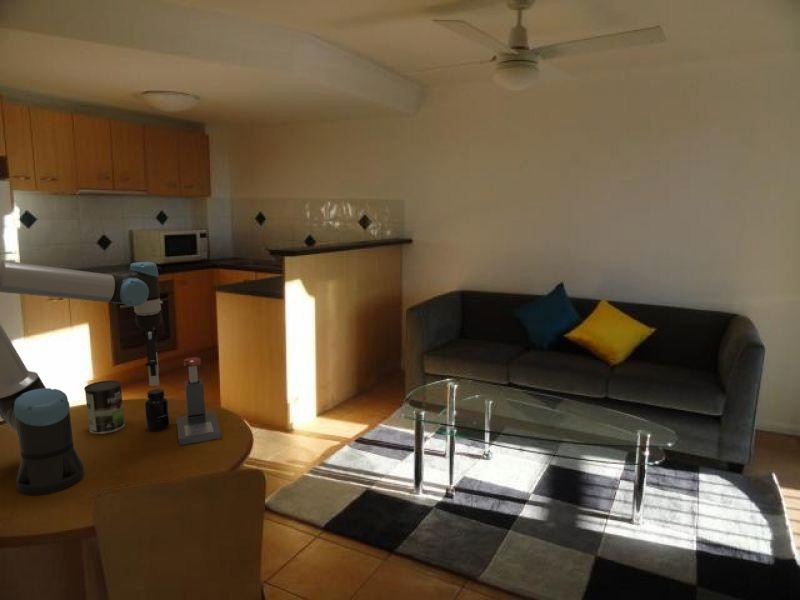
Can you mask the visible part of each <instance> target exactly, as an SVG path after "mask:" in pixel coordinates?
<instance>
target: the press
mask: <svg viewBox="0 0 800 600" xmlns="http://www.w3.org/2000/svg"><path fill="white" fill-rule="evenodd" d="M184 389H185V398H186V399H185V401H186V414H187V415H183V416H176V417H175V418H176V428H177V429H176V430H177V437H178V438H177V439H178V446H185V445H191V444H196V443H203V441H204V442H208V441H207V440H210V441H212V440H211V439H216V438H221V439H222V432H221V428H220V425H219V422H218V418H217V414H216V411H209V412H206V407H205V406H206V404H205V394H204V393H205V391H204V382H203V379H202V378H198V383H197V384H190V380H184ZM216 440H217V439H216Z"/></svg>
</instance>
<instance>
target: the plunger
mask: <svg viewBox="0 0 800 600" xmlns="http://www.w3.org/2000/svg"><path fill="white" fill-rule="evenodd" d="M201 364H202V363H201V358H200V357H198V356H197V357H195V356H194V357H188V358H185V359H184V360H183V366H184V367H188V376H189V377H188V379H189V380H190V384H197V383H198V379H199V378H198V377H199V376H198V366H200V365H201Z"/></svg>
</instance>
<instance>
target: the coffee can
mask: <svg viewBox="0 0 800 600" xmlns="http://www.w3.org/2000/svg"><path fill="white" fill-rule="evenodd" d="M84 392H85V394H84V395H85V402H86V411H87V418H88V419H87V420H88V428H89V429H88V431H89V433H90V434H95V435H106V434H110V433H114V432H118V431H121V430H122V429H123V428H124V427H125V425H126V423H125V416H124V415H125V413H124V405H123V394H122V393H123V392H122V382H121V381H118V380H112V379H111V380H102V381H101V380H100V381H97V382H92V383H89V384H87V385H86V386H85V387H84Z"/></svg>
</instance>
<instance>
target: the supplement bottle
mask: <svg viewBox="0 0 800 600" xmlns="http://www.w3.org/2000/svg"><path fill="white" fill-rule="evenodd" d="M144 412H145V426H146V429H147V430H148V431H153V432H156V431H163V430H166V429H167V428H169V426H170V412H169V400H168V399H167V398H166V397H165V390H164V389H163V388H155V389H154V388H153V389H150V390H149V391H147V400H146V401H145V402H144Z"/></svg>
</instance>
